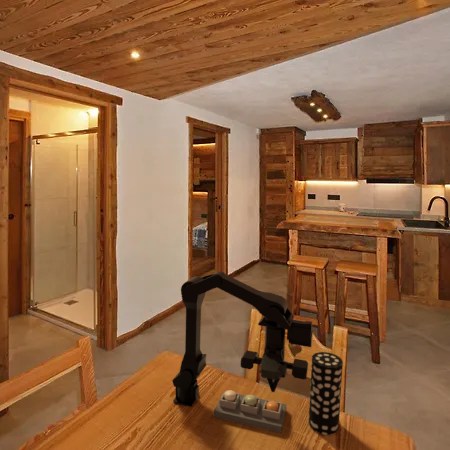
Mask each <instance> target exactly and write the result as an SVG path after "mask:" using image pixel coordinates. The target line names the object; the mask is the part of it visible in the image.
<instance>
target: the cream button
mask: <svg viewBox="0 0 450 450" xmlns="http://www.w3.org/2000/svg"><path fill="white" fill-rule="evenodd" d="M225 391H226V392H225V395H224V400H227V401H232V402H235V400H236V393H237V392H235V391H234V390H231V389H230V390H229V389H228V390H225Z"/></svg>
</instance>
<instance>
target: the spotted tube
mask: <svg viewBox="0 0 450 450" xmlns="http://www.w3.org/2000/svg"><path fill="white" fill-rule="evenodd" d="M343 363H344V362H343V359H342V358H341V356H339V355H337V354H335V353H331V352H328V351H327V352H326V351H319V352H315V353H313V354H312V355H311V369H310V370H311V372H310V387H309V389H310V390H309V405H308V406H309V407H308V409H309V410H308V425H309V427H310V428H311V429H312V430H313V431H314V432H316V433H318V434H321V435H324V436H326V435H327V436H331V435H334V434H336V433H337V432H339V428H340V427H339V426H340V410H341V397H342V396H341V393H342V378H343V366H344V364H343Z"/></svg>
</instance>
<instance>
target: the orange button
mask: <svg viewBox="0 0 450 450" xmlns="http://www.w3.org/2000/svg"><path fill="white" fill-rule="evenodd" d="M274 401H275V400H272V401H269V402H267V407H266V409H267V410H272V411H276V412H278V404H277V403H276V402H274Z"/></svg>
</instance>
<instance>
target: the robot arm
mask: <svg viewBox="0 0 450 450" xmlns="http://www.w3.org/2000/svg"><path fill="white" fill-rule="evenodd" d="M214 289H219V290H220V291H223V292H225V293H227V294H228V295H230V296H232V297H235V298H237V299H238V300H241V301H242V302H244V303H247V304H249V305H250V306H252V307H254V308H255V310H257V312H258V313H259V314H260V315H262V316H263V317H261V318H260V320H259V321H258V323H257V325H258V326H261V327H265V330H264V350H263V354H262V357H260V356H259V353H258V351H253V350H247V349H246V350H245V351H244V353H243V354H242V356H241V359H240V367H241V369H247V370H251V369H253V368H254V364H255V365H259V366H260V369H259V373H260V376H261V377H262V378H264V379H266V380H267V382H268V385H269V389H270V391H271V392H272V393H275V391H276V389H277V386H278V384H279V382H280V380H281V379H285V378H286V376H287V373H288V371H291V375H292V376H293V378H295V379H299V380H307V378H308V377H307V376H308V370H309V362H308V361H307V360H305V359H301V358H293V362H288V360H285V356H286V355H285V353H286V352H285V351H286V349H285V348H286V340H287V341H288V344H290V345H294V346H300V347H307V348H312V347H313V346H312V345H313V336H314V335H313V334H314V330H313V321H310V320H308V321H307V320H306V321H305V320H298V319H294V318H295V316H294V315H293V313H292V312H291V309H290V308H289V306H288V302H287V300H286V298H285V297H283V295H279V294H276V293H273V292H267V291H261V290H259V289H256V288H254V287H252V286H250V285H248V284H246V283H244V282H242V281H240V280H238V279H236V278H234V277H232V276H230V275H227V274H226V273H225V272H224V271H222V270H220V271H216V272H214V273H211V274H207V275H204V276H198V275H196V276H193V277H192V278H190V279H188V280H187V281H185V282H184V283H183V284H182V285H181V287H180V294H181V300H182V303H183V305H184V308H185V341H184V342H185V343H184V344H185V345H184V349H185V351H184V353H183V357H182V361H181V362H180V368H179V372H177V374H176V375H175V376H174V377H173V378H172V384H173V387H174V388H175V397H174V399H173V400H172V402H173V403H175V404H179V405H183V406H187V407H193V406H194V404H195V403H196V401H197V400H198V399H199V398H200V397H199V396H200V393H199V391H200V386H199V384H198V378H199V376H200V375H201V374H202V372H203V371H204V369H205V368H206V367H207V362H206V359H207V354H206V353H202V351H201V330H202V329H201V326H202V324H201V323H202V304H203V302H204V299H205V297H206V293H207V292H209V291H211V290H214ZM286 331H287V332H286Z"/></svg>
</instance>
